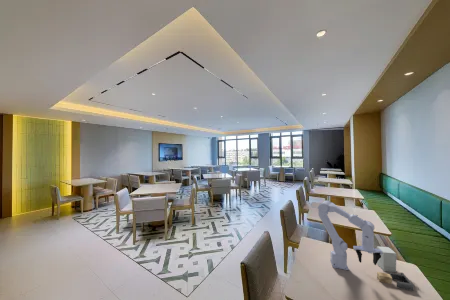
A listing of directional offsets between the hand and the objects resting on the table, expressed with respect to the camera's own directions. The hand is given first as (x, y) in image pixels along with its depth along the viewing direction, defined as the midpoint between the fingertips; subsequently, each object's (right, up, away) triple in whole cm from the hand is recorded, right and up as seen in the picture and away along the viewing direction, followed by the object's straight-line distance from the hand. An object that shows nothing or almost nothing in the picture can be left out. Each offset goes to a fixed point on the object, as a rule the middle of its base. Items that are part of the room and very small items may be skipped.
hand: (367, 262), depth 111 cm
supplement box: (+19, -9, +8) cm, 23 cm away
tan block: (+8, -10, -3) cm, 13 cm away
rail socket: (+16, -9, -5) cm, 19 cm away
